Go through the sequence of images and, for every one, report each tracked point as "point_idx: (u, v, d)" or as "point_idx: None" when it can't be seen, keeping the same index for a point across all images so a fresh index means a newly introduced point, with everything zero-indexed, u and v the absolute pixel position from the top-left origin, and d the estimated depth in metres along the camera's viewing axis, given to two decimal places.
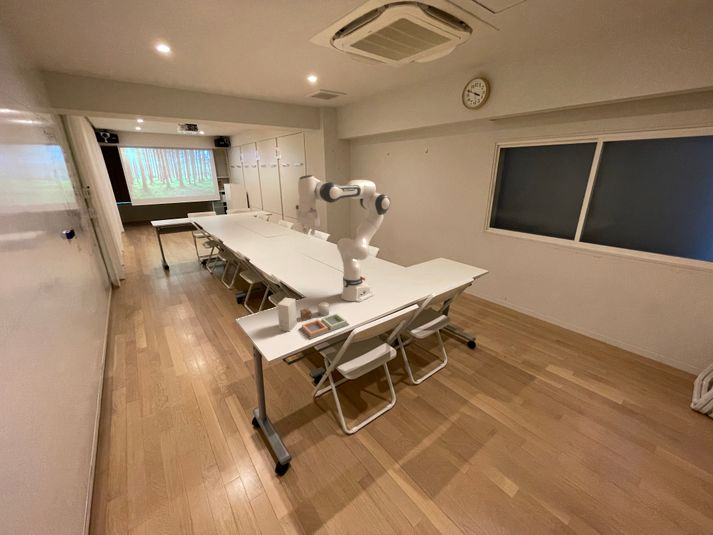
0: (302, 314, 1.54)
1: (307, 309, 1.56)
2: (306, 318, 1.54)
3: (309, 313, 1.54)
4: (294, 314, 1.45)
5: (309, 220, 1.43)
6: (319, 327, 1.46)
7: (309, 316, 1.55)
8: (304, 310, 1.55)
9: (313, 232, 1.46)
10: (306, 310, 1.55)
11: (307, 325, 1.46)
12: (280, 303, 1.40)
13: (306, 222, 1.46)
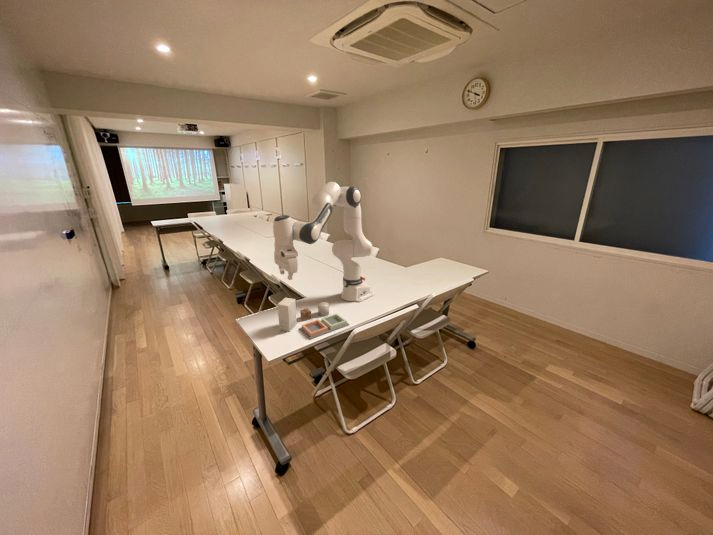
0: (302, 314, 1.54)
1: (307, 309, 1.56)
2: (306, 318, 1.54)
3: (309, 313, 1.54)
4: (294, 314, 1.45)
5: None
6: (319, 327, 1.46)
7: (309, 316, 1.55)
8: (304, 310, 1.55)
9: None
10: (306, 310, 1.55)
11: (307, 325, 1.46)
12: (280, 303, 1.40)
13: None
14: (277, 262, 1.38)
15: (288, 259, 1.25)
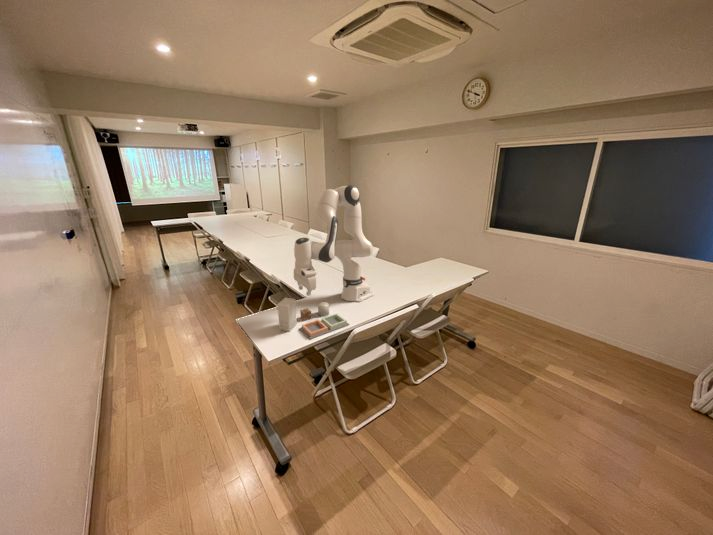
0: (302, 314, 1.54)
1: (307, 309, 1.56)
2: (306, 318, 1.54)
3: (309, 313, 1.54)
4: (294, 314, 1.45)
5: None
6: (319, 327, 1.46)
7: (309, 316, 1.55)
8: (304, 310, 1.55)
9: None
10: (306, 310, 1.55)
11: (307, 325, 1.46)
12: (280, 303, 1.40)
13: None
14: (296, 278, 1.52)
15: (308, 278, 1.39)
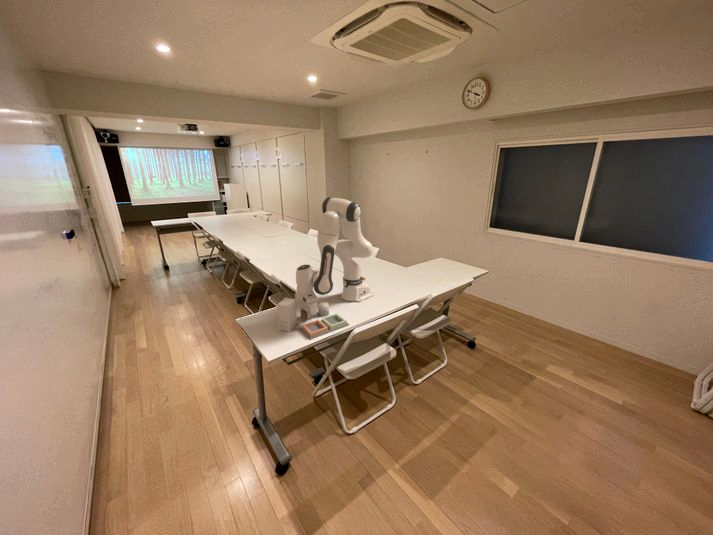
0: (302, 314, 1.54)
1: None
2: (306, 318, 1.54)
3: None
4: (294, 314, 1.45)
5: None
6: (319, 327, 1.46)
7: None
8: (304, 310, 1.55)
9: None
10: None
11: (307, 325, 1.46)
12: (280, 303, 1.40)
13: None
14: (298, 302, 1.57)
15: (309, 304, 1.44)
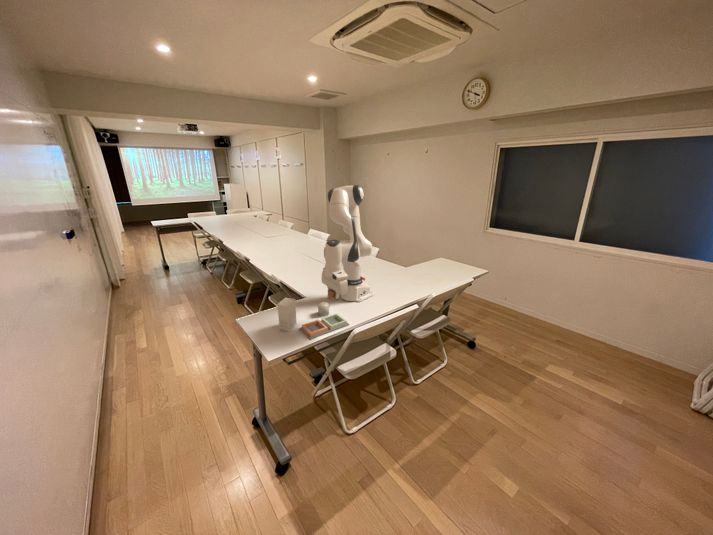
0: (330, 294, 1.44)
1: None
2: (334, 298, 1.44)
3: None
4: (294, 314, 1.45)
5: None
6: (319, 327, 1.46)
7: None
8: (332, 290, 1.45)
9: None
10: None
11: (307, 325, 1.46)
12: (280, 303, 1.40)
13: None
14: (325, 282, 1.47)
15: (339, 281, 1.34)
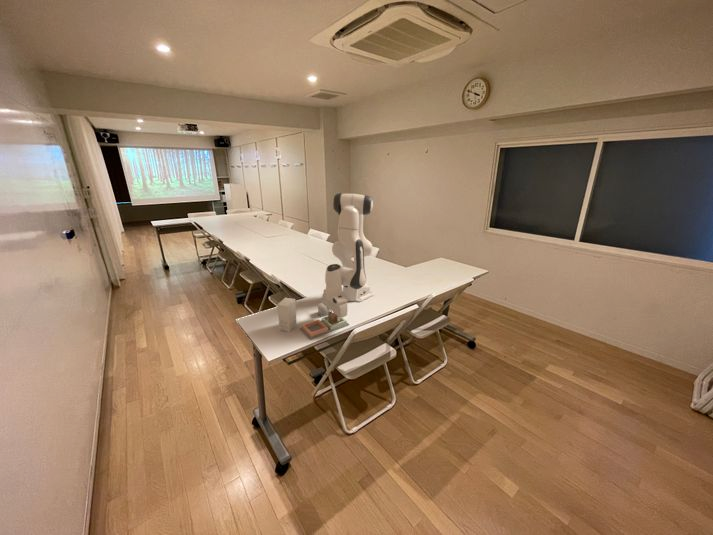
0: (330, 318, 1.49)
1: None
2: (335, 322, 1.49)
3: None
4: (294, 314, 1.45)
5: None
6: (319, 327, 1.46)
7: None
8: (332, 314, 1.50)
9: None
10: (334, 314, 1.50)
11: (307, 325, 1.46)
12: (280, 303, 1.40)
13: None
14: (325, 303, 1.51)
15: (340, 305, 1.39)
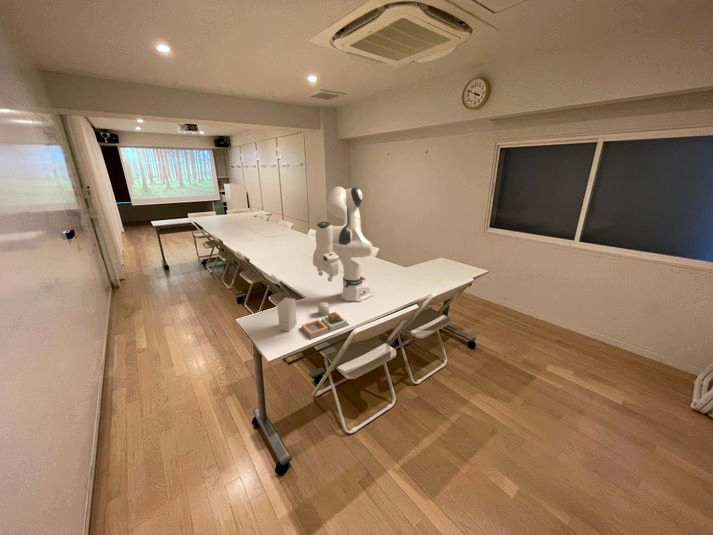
0: (330, 318, 1.49)
1: (335, 313, 1.51)
2: (335, 322, 1.49)
3: (337, 317, 1.49)
4: (294, 314, 1.45)
5: None
6: (319, 327, 1.46)
7: (337, 320, 1.49)
8: (332, 314, 1.50)
9: None
10: (334, 314, 1.50)
11: (307, 325, 1.46)
12: (280, 303, 1.40)
13: None
14: (316, 264, 1.48)
15: (330, 263, 1.36)
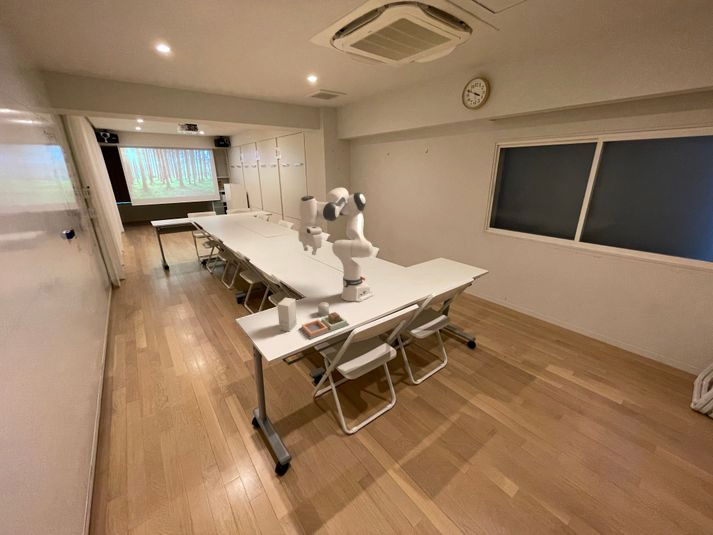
0: (330, 318, 1.49)
1: (335, 313, 1.51)
2: (335, 322, 1.49)
3: (337, 317, 1.49)
4: (294, 314, 1.45)
5: None
6: (319, 327, 1.46)
7: (337, 320, 1.49)
8: (332, 314, 1.50)
9: None
10: (334, 314, 1.50)
11: (307, 325, 1.46)
12: (280, 303, 1.40)
13: None
14: (301, 239, 1.51)
15: (313, 235, 1.39)
